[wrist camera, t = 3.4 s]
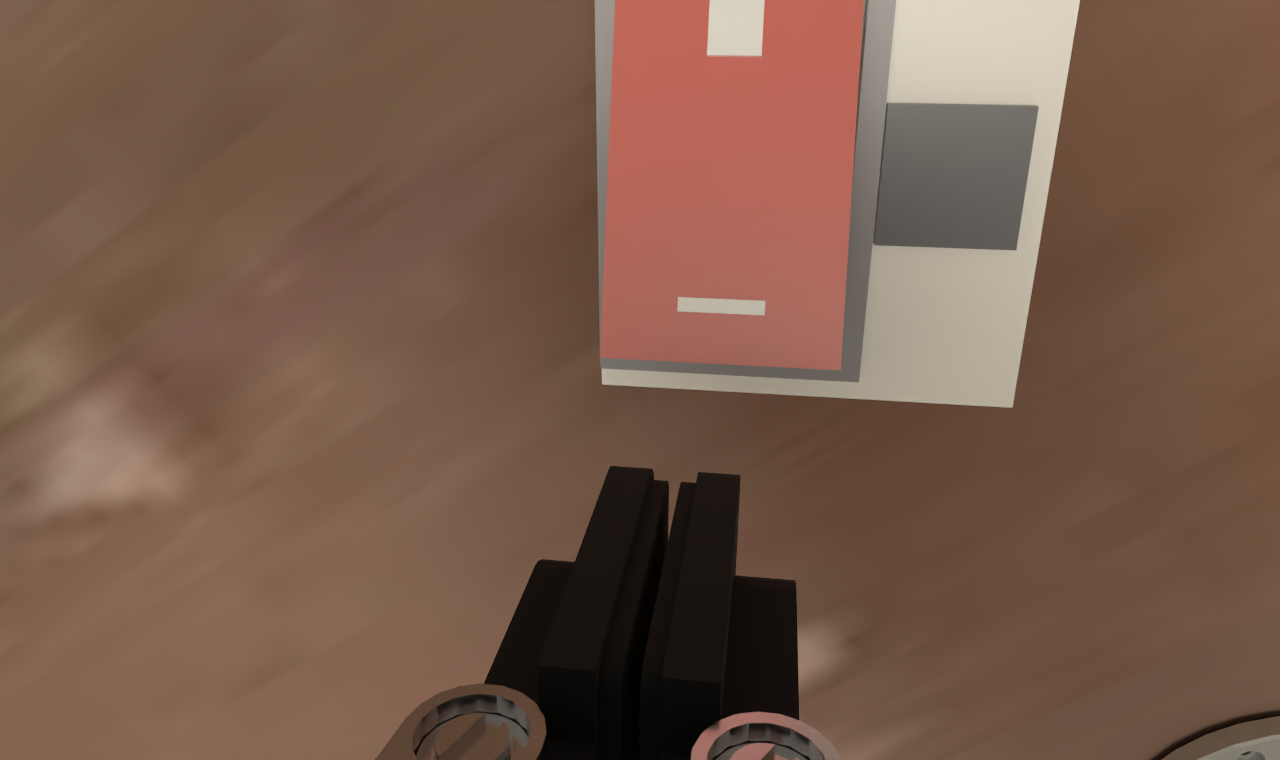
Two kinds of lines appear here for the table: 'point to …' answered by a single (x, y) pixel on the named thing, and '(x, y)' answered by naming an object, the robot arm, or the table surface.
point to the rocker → (730, 181)
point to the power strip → (919, 204)
